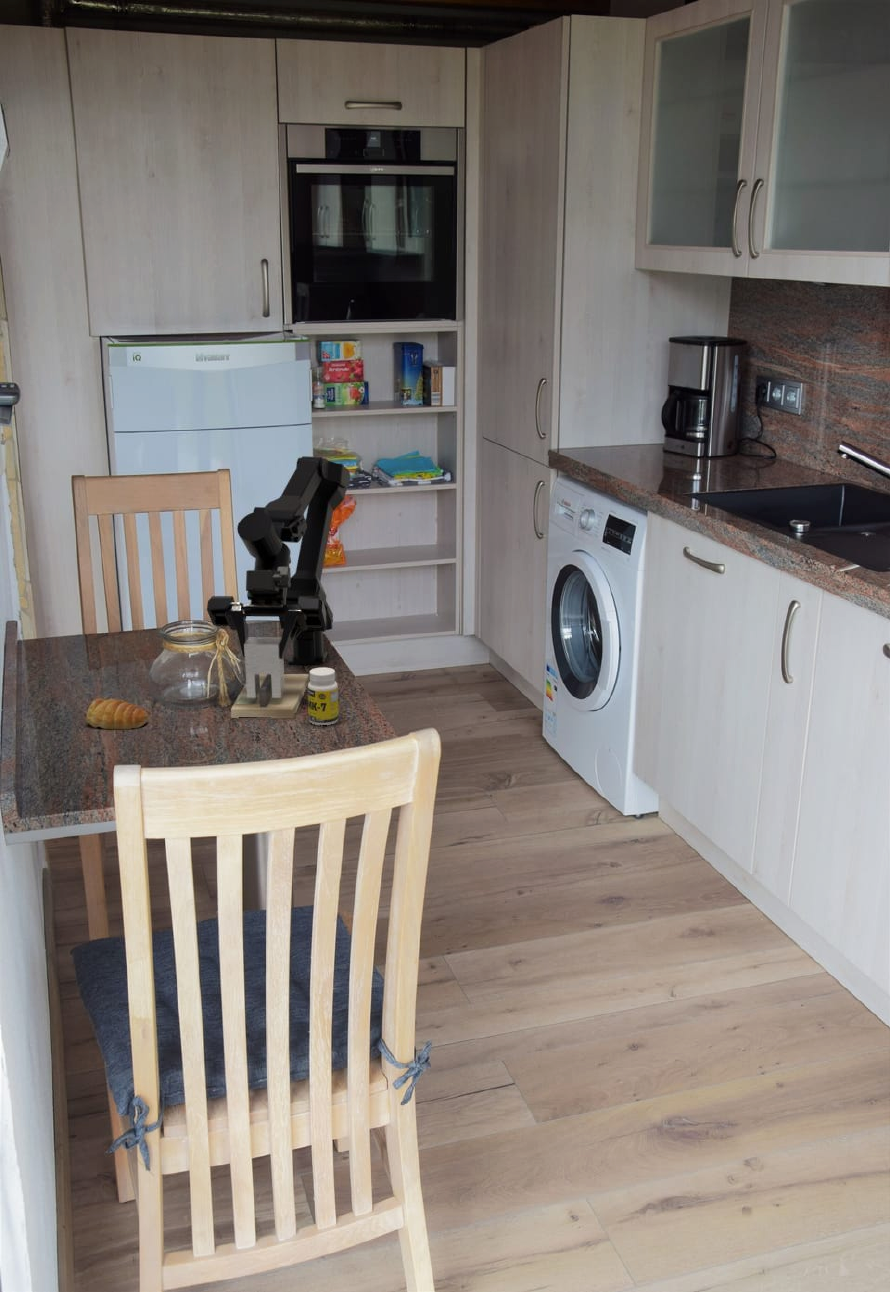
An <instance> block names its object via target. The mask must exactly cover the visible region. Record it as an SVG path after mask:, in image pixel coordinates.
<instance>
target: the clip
mask: <svg viewBox="0 0 890 1292" xmlns="http://www.w3.org/2000/svg"><path fill="white" fill-rule="evenodd" d="M281 638H282V636H280V637H279V636H273V637H272V636H248V639H247V641H246V642H245V644H244V653H245V659H244V666H245V667H244V668H245V669H244V670H245V684H246V688H247V698H256V696H257V694H258V692H259V689H260V678H259V674H271V681H272V698H281V697H282V695H283V692H284V690H285V681H284V674H285V666H284V665H285V663H284V658H283V659H280V657H279V653H280V644H281Z"/></svg>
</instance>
